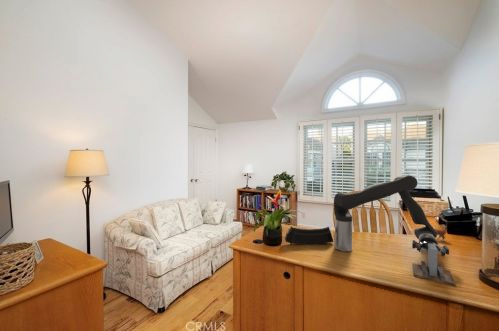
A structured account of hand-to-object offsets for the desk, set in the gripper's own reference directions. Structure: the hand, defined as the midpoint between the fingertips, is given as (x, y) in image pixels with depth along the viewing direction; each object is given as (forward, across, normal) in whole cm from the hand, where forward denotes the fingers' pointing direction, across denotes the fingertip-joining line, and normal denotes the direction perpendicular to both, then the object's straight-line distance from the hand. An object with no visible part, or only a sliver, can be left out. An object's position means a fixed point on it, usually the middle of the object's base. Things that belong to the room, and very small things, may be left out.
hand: (431, 252), depth 105 cm
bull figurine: (-54, +5, +9) cm, 55 cm away
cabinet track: (+5, 0, +9) cm, 10 cm away
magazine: (+1, -60, +9) cm, 60 cm away
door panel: (+5, 0, +8) cm, 9 cm away
